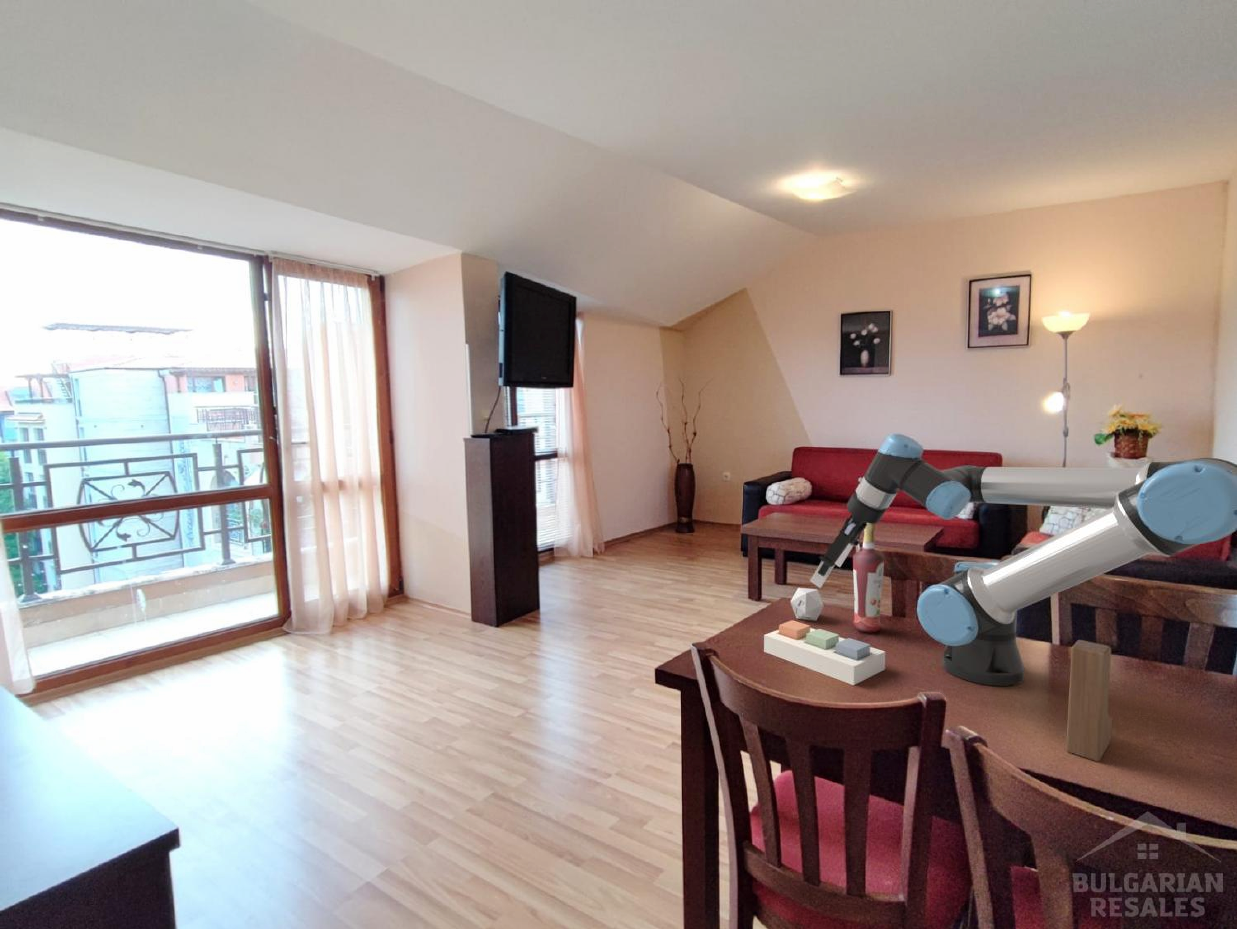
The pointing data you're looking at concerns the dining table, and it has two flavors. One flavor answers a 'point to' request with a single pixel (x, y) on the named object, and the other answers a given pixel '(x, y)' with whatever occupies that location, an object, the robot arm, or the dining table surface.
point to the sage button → (822, 639)
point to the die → (807, 604)
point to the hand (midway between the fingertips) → (825, 573)
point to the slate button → (853, 649)
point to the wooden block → (1089, 700)
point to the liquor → (867, 584)
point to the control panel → (824, 658)
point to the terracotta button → (794, 630)
